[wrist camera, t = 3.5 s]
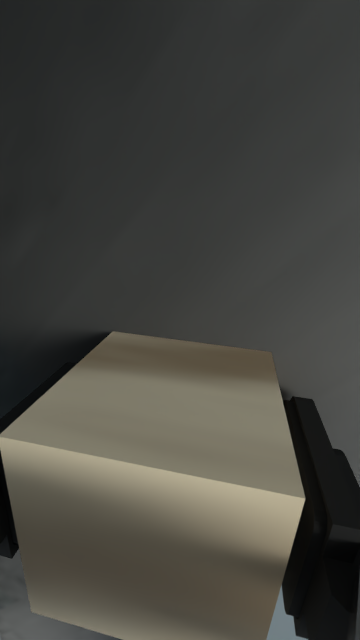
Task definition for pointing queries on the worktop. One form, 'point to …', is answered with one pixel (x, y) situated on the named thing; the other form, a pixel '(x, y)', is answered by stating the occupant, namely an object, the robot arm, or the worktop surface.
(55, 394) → the wooden cube
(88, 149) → the worktop surface
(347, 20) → the worktop surface
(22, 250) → the worktop surface
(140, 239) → the worktop surface
